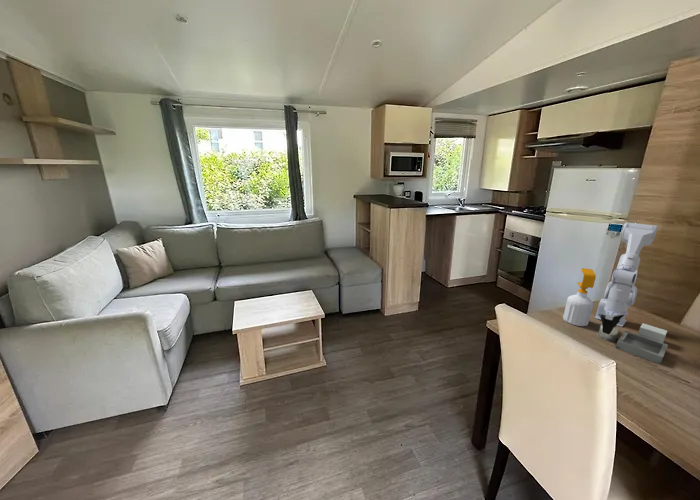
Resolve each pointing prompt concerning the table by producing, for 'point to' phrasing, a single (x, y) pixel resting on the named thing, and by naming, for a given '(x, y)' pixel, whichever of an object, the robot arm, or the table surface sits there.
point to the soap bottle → (580, 301)
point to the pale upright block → (652, 332)
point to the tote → (642, 346)
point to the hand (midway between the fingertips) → (608, 329)
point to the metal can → (610, 336)
